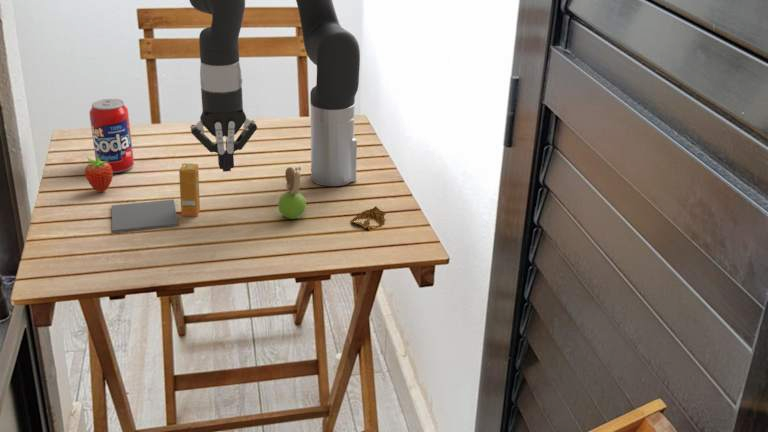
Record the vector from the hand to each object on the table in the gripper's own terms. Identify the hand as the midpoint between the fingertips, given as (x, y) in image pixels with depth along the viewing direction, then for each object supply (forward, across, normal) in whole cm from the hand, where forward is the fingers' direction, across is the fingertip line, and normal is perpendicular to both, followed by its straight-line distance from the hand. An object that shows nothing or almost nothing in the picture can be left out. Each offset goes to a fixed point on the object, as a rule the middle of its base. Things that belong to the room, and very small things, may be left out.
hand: (226, 169), depth 163 cm
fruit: (+9, +24, -14) cm, 29 cm away
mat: (+9, +16, -1) cm, 18 cm away
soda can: (+9, +21, -26) cm, 35 cm away
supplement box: (+9, +7, 0) cm, 11 cm away
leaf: (+9, -26, +12) cm, 30 cm away
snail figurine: (+9, -12, +7) cm, 16 cm away
